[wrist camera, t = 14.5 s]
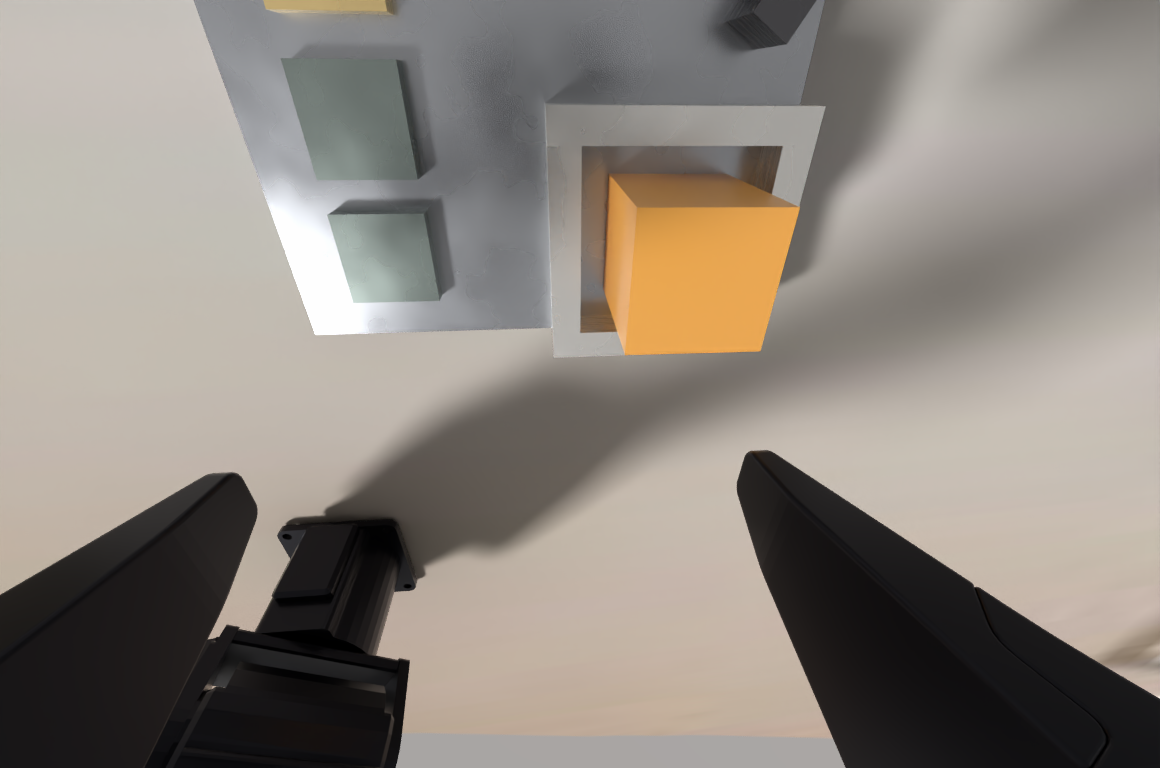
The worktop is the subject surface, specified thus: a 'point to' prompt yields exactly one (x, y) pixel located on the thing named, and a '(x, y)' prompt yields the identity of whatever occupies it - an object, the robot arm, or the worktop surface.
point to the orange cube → (693, 261)
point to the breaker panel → (498, 142)
